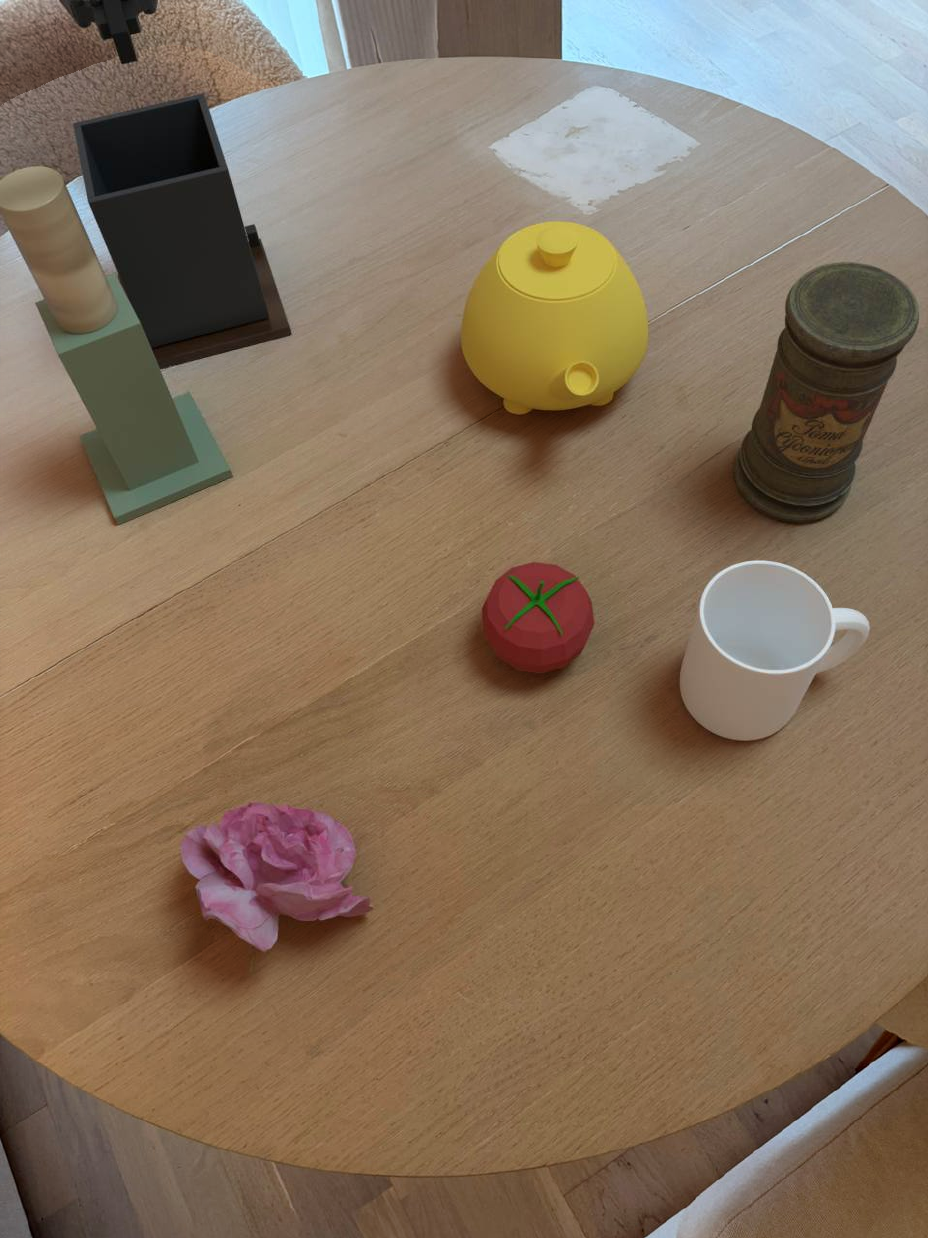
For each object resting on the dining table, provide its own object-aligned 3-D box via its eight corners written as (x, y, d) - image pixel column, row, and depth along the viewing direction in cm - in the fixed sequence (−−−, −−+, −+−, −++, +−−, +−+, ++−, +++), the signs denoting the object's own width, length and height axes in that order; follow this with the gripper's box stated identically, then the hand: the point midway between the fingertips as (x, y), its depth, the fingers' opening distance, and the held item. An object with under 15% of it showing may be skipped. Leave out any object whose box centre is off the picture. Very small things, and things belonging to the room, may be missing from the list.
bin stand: (291, 334, 92) (286, 312, 90) (140, 374, 91) (130, 352, 88) (262, 245, 99) (256, 222, 97) (120, 281, 97) (111, 258, 95)
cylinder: (48, 304, 72) (-16, 180, 64) (107, 282, 73) (52, 157, 64) (65, 342, 70) (1, 219, 61) (126, 319, 71) (71, 194, 62)
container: (727, 437, 83) (773, 257, 68) (838, 436, 83) (910, 254, 67) (739, 525, 79) (792, 353, 63) (857, 524, 78) (939, 351, 63)
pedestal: (83, 443, 87) (0, 295, 73) (192, 399, 89) (132, 247, 75) (118, 525, 82) (37, 383, 68) (233, 476, 84) (176, 329, 70)
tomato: (611, 660, 73) (620, 604, 67) (517, 708, 72) (517, 655, 65) (554, 580, 77) (557, 519, 70) (464, 623, 75) (459, 565, 69)
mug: (825, 624, 74) (866, 541, 65) (866, 725, 69) (916, 652, 61) (664, 649, 73) (683, 570, 65) (695, 753, 69) (720, 683, 60)
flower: (284, 821, 71) (345, 744, 65) (344, 950, 67) (415, 881, 61) (131, 861, 64) (184, 778, 58) (188, 1009, 60) (251, 937, 54)
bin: (269, 317, 92) (228, 168, 79) (149, 348, 90) (88, 202, 78) (245, 242, 97) (203, 92, 84) (132, 270, 96) (72, 122, 83)
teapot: (669, 467, 82) (694, 339, 70) (479, 488, 82) (471, 364, 70) (624, 298, 92) (639, 163, 81) (455, 317, 92) (445, 183, 80)
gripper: (167, -46, 107) (206, 72, 95) (44, -21, 105) (68, 103, 93) (145, -128, 101) (184, -12, 89) (13, -102, 99) (34, 20, 87)
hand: (124, 47), depth 91 cm, fingers closed
